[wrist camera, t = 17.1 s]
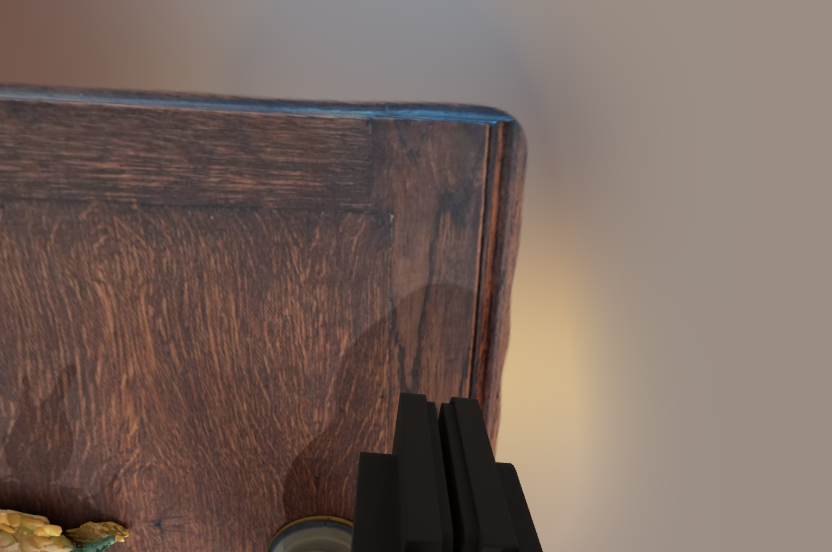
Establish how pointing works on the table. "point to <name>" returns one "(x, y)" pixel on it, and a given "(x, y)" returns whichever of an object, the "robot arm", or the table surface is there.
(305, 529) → the apothecary jar
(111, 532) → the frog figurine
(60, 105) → the table surface
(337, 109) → the table surface
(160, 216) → the table surface
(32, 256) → the table surface
